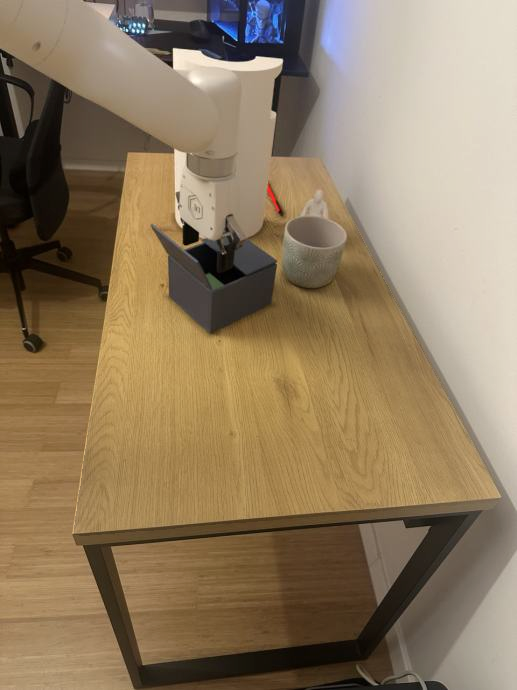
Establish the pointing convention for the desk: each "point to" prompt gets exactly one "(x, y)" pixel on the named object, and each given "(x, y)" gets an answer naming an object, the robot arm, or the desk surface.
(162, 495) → the desk surface
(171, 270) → the carton
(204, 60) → the white rounded tall casing
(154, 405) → the desk surface
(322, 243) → the planter
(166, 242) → the flap
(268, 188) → the pen
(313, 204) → the figurine
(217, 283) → the block
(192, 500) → the desk surface
